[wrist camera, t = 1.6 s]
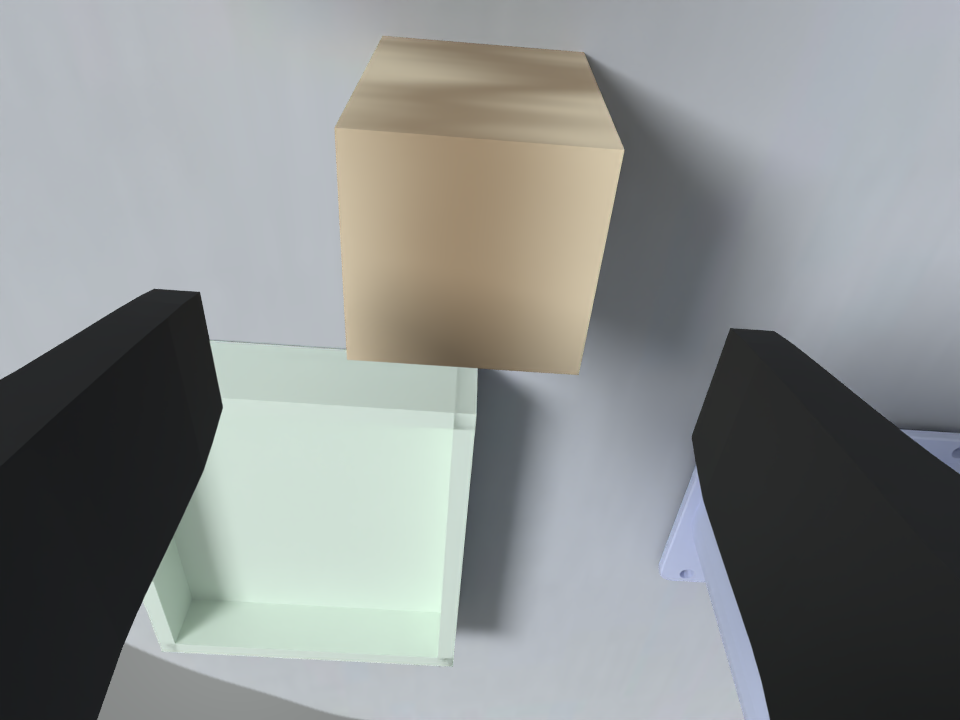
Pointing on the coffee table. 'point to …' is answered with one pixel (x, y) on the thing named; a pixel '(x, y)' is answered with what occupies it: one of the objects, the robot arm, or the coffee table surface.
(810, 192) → the coffee table surface
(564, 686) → the coffee table surface
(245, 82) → the coffee table surface
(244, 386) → the serving tray
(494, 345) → the maple block
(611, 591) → the coffee table surface
